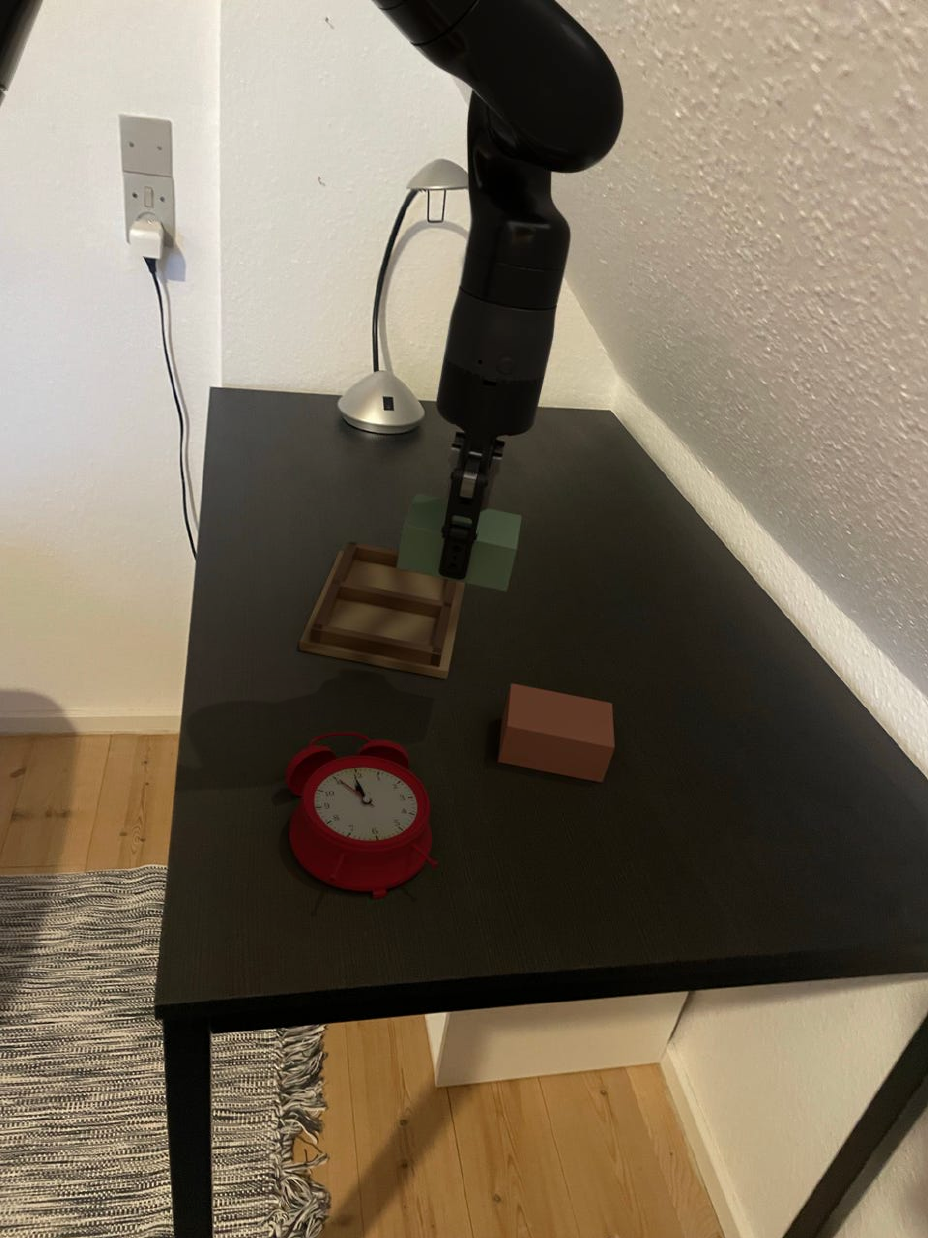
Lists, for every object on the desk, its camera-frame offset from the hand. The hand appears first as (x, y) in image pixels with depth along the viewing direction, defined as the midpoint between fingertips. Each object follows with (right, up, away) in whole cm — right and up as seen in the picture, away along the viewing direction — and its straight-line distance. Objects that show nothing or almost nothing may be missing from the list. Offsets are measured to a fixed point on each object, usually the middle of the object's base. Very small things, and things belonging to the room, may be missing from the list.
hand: (456, 555), depth 77 cm
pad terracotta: (+8, -16, +4) cm, 19 cm away
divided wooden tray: (-7, -5, +18) cm, 20 cm away
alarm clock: (-8, -21, -7) cm, 23 cm away
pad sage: (0, 0, 0) cm, 1 cm away
